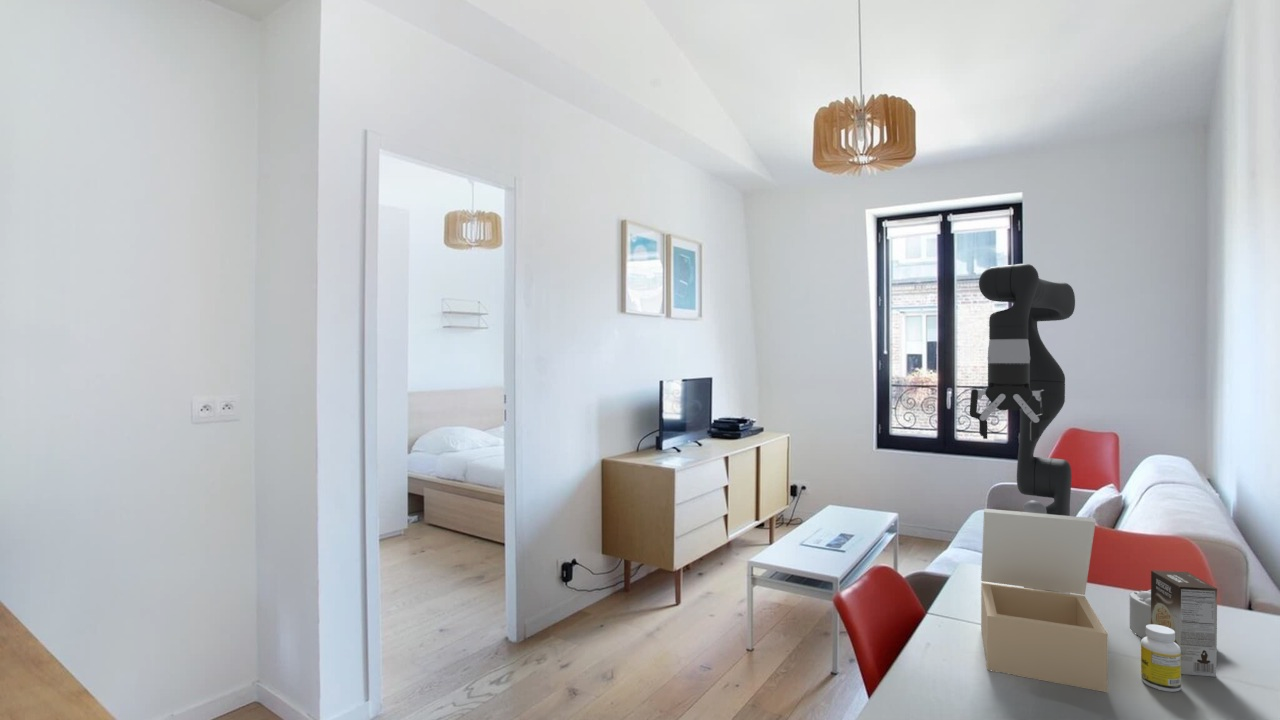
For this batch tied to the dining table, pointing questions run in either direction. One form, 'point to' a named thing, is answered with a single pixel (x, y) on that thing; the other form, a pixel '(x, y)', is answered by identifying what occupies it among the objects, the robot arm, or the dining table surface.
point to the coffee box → (1187, 618)
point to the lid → (1037, 549)
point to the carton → (1043, 636)
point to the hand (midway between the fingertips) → (1008, 439)
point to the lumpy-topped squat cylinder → (1140, 612)
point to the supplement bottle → (1160, 659)
